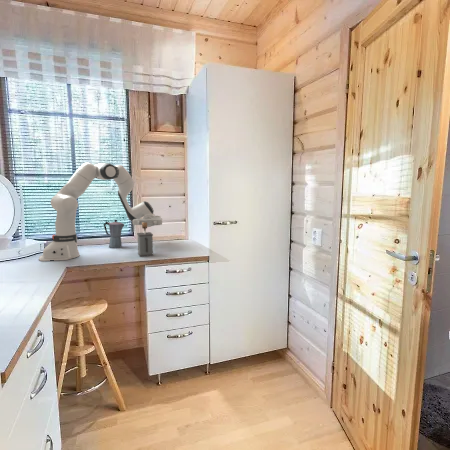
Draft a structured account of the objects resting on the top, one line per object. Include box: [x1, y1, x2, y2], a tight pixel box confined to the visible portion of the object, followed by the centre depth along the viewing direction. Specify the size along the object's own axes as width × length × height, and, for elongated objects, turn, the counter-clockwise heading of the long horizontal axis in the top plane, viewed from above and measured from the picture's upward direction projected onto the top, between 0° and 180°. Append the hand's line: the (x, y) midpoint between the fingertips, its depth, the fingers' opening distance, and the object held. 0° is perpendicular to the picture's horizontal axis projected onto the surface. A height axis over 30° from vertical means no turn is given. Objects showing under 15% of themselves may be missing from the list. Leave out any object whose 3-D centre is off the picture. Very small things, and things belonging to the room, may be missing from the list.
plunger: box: [141, 222, 148, 234], centre depth 201 cm, size 6×6×20 cm
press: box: [136, 231, 154, 258], centre depth 200 cm, size 8×11×14 cm
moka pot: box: [103, 219, 125, 249], centre depth 223 cm, size 10×15×20 cm, turn 89°
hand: (146, 223), depth 210 cm, fingers open, 8 cm apart
